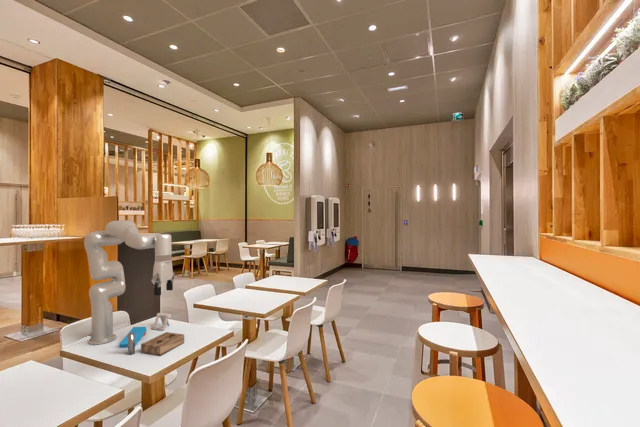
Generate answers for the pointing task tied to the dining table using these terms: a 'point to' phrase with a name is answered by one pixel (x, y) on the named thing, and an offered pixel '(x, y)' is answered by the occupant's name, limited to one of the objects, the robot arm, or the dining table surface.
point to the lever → (138, 334)
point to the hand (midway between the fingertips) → (163, 292)
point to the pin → (131, 343)
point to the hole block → (162, 344)
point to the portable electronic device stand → (164, 320)
